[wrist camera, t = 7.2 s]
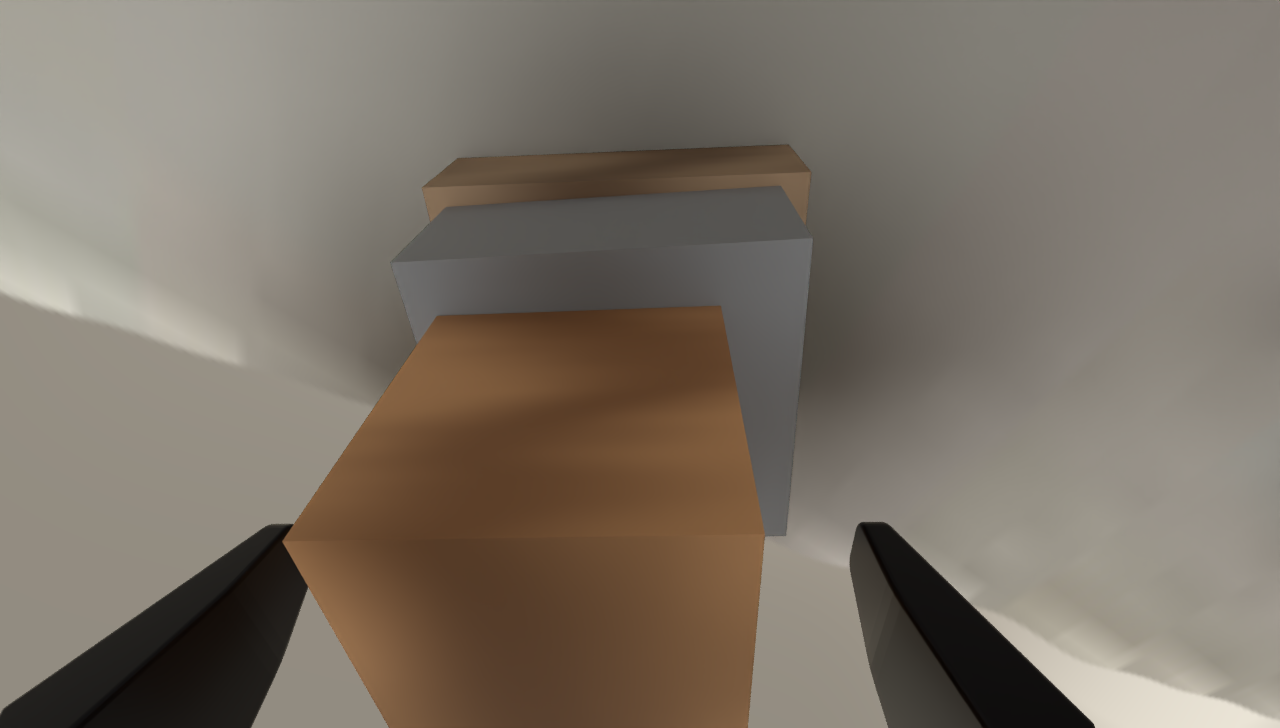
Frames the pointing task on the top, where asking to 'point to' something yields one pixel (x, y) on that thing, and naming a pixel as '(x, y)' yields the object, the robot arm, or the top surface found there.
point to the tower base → (617, 175)
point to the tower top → (642, 285)
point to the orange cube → (548, 527)
